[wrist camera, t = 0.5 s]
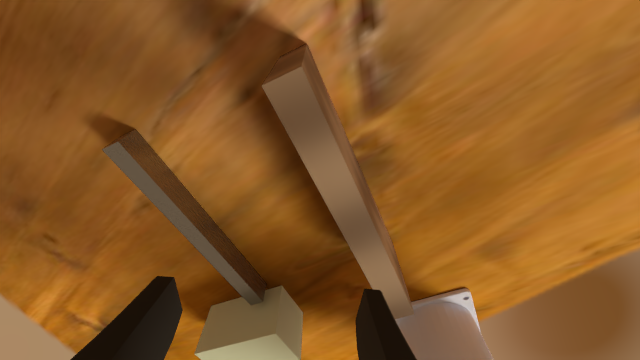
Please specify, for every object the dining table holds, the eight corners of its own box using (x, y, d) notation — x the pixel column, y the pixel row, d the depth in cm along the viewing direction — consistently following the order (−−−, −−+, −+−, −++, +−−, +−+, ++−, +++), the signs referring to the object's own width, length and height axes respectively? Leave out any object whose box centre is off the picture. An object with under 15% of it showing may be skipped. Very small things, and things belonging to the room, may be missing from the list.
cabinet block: (303, 311, 28) (300, 360, 24) (237, 328, 29) (225, 377, 26) (282, 283, 26) (275, 333, 22) (211, 304, 27) (194, 353, 23)
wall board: (392, 244, 23) (414, 314, 18) (374, 250, 23) (389, 320, 18) (307, 43, 15) (301, 66, 10) (279, 57, 15) (261, 85, 10)
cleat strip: (266, 283, 25) (263, 301, 24) (254, 287, 26) (250, 305, 24) (135, 129, 17) (118, 141, 16) (120, 136, 18) (101, 149, 16)
